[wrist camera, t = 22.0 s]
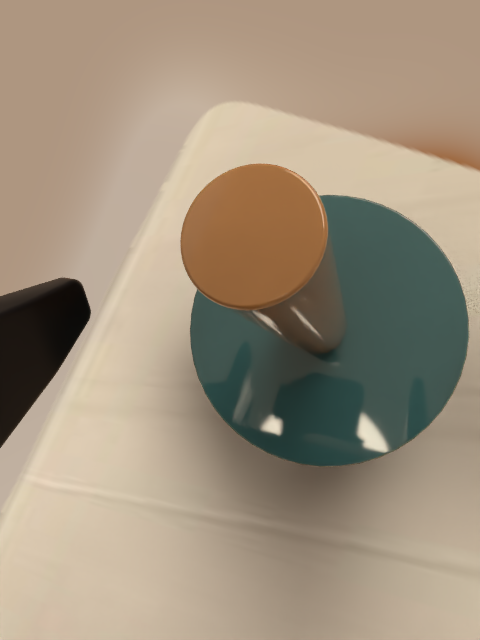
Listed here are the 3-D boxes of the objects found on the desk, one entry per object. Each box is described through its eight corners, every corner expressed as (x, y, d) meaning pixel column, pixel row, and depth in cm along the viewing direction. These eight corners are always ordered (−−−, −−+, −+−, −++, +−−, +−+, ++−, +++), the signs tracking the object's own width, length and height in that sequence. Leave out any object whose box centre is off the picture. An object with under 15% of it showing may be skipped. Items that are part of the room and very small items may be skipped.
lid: (325, 519, 15) (254, 816, 5) (157, 335, 18) (-107, 273, 8) (527, 319, 14) (974, 153, 4) (313, 161, 17) (245, -162, 7)
